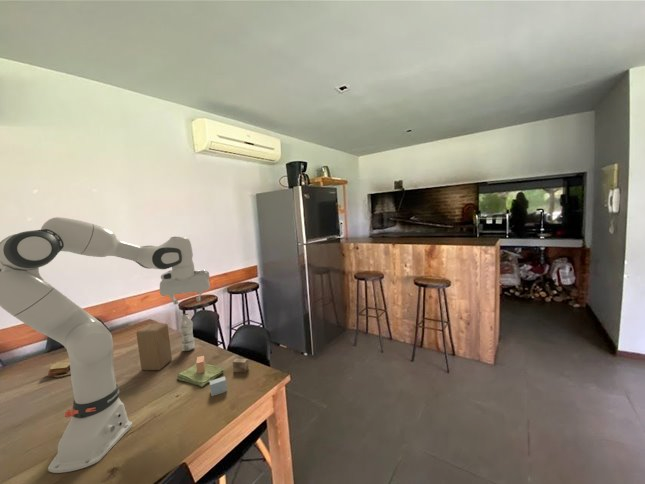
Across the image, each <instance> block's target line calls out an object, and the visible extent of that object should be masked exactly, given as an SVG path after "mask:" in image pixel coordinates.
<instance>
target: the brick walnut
mask: <svg viewBox="0 0 645 484" xmlns="http://www.w3.org/2000/svg"><path fill="white" fill-rule="evenodd" d="M232 369H233V373H241V372H246V371H248V370H249V359H248V358H235V359H234V360H233V361H232ZM246 373H247V372H246Z"/></svg>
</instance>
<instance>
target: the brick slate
mask: <svg viewBox="0 0 645 484" xmlns="http://www.w3.org/2000/svg"><path fill="white" fill-rule="evenodd" d="M208 383H209V390H210V396H211V397H214V395H215V396H217V395H221V394H222V393H225V392H228V387H227V380H226V376H221V377H219V378H218V377H217V378H215V379H214V380H211V381H209V382H208Z"/></svg>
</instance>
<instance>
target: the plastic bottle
mask: <svg viewBox="0 0 645 484" xmlns="http://www.w3.org/2000/svg"><path fill="white" fill-rule="evenodd" d="M189 314H190V313H183V314H181V316H180V317H181V318H180V319H181V321H180V323H179V330H180V333H181V334H180V335H181V349H182V351H183V352H189V351H192V350H194V349H195V347H196V342H195V338H194V333H193V329H194V328H193V327H194V323H193V320H192V319H190V315H189Z"/></svg>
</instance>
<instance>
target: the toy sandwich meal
mask: <svg viewBox="0 0 645 484" xmlns="http://www.w3.org/2000/svg"><path fill="white" fill-rule="evenodd" d="M47 376H48V377H55V378H64V377H68V376H71V371H70V363H69V361H63V362H56V363H54V364H52V365H51V366H50V367H49V371H48V375H47ZM63 376H64V377H63Z"/></svg>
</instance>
